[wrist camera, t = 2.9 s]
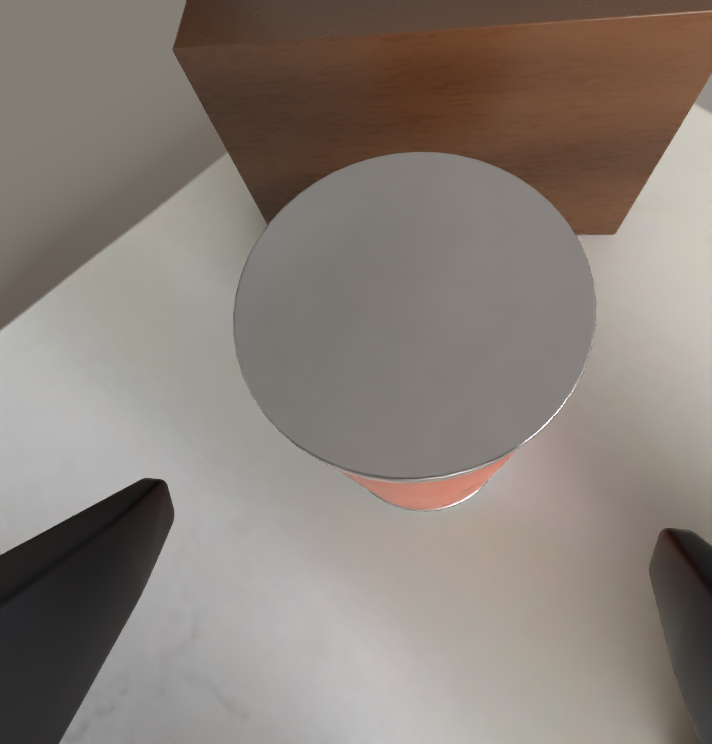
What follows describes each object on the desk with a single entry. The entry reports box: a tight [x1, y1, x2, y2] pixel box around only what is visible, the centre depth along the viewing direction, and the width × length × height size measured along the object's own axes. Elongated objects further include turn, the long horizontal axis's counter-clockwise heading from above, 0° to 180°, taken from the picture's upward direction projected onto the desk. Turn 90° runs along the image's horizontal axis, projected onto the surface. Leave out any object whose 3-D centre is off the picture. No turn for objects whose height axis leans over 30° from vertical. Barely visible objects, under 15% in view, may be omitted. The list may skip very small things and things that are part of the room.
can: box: [233, 152, 596, 511], centre depth 15 cm, size 7×7×12 cm
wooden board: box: [173, 0, 712, 234], centre depth 19 cm, size 2×16×10 cm, turn 84°
